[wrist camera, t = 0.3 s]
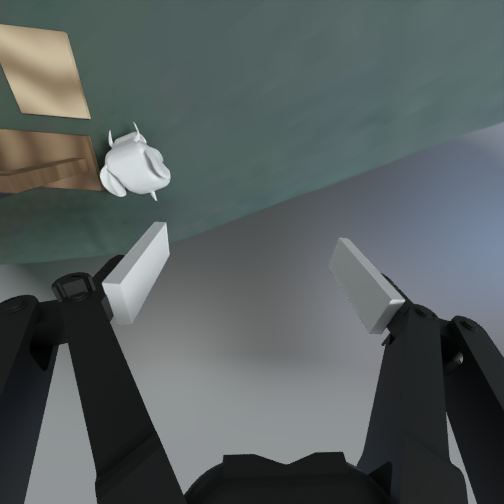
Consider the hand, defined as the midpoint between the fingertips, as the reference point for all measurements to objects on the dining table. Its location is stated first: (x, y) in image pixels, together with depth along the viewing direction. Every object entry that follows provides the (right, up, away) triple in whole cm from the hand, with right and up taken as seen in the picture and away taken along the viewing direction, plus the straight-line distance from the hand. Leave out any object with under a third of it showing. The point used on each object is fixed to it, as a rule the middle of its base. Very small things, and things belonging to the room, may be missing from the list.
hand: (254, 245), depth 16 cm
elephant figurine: (-19, +16, +22) cm, 33 cm away
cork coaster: (-31, +26, +15) cm, 43 cm away
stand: (-38, +16, +21) cm, 46 cm away
